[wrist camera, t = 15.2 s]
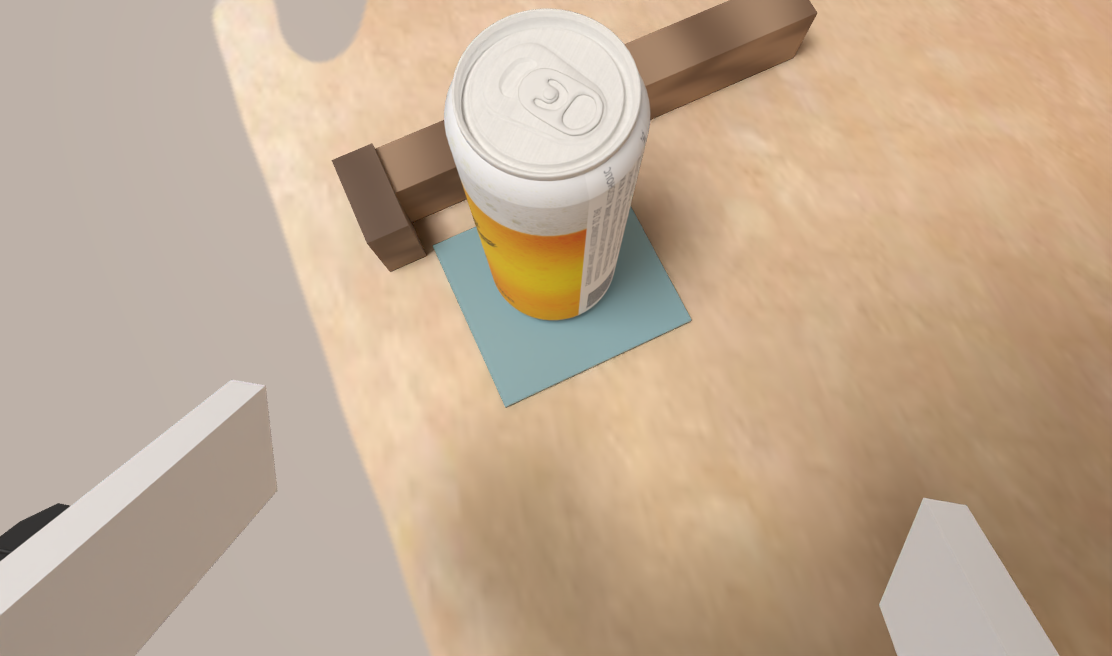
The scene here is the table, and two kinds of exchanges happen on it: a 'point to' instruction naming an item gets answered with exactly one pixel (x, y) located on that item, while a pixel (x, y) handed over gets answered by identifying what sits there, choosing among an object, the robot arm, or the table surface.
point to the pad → (561, 345)
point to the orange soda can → (548, 154)
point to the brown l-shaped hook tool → (671, 81)
